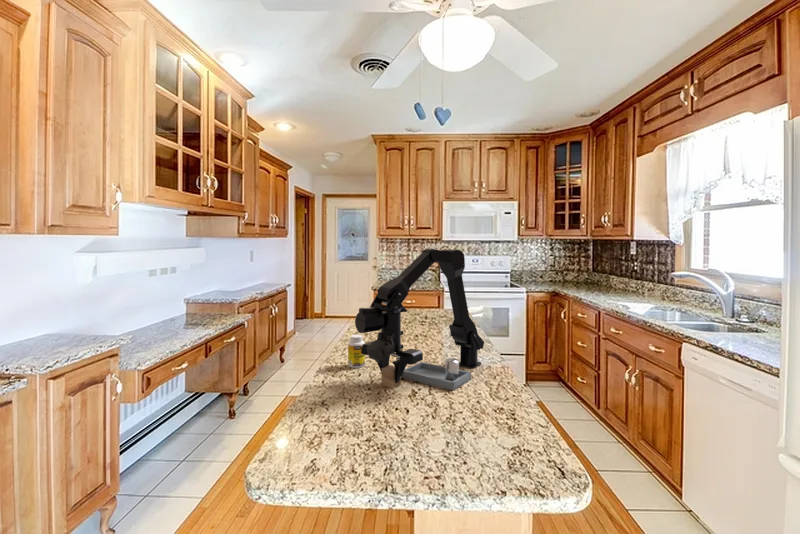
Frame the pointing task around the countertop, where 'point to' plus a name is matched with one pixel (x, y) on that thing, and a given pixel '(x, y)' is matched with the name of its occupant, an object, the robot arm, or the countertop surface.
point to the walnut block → (389, 377)
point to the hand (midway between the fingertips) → (391, 381)
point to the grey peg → (451, 369)
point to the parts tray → (434, 375)
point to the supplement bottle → (355, 352)
